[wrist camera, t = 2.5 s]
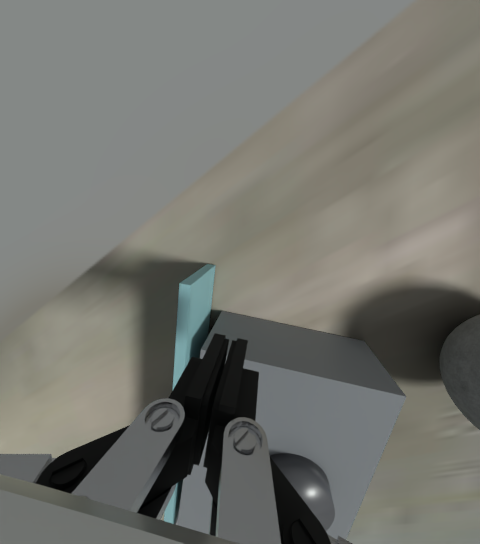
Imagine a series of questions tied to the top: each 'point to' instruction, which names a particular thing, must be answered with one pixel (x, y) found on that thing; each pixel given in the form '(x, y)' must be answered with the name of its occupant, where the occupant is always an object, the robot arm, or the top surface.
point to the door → (190, 341)
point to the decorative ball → (463, 368)
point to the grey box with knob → (309, 417)
